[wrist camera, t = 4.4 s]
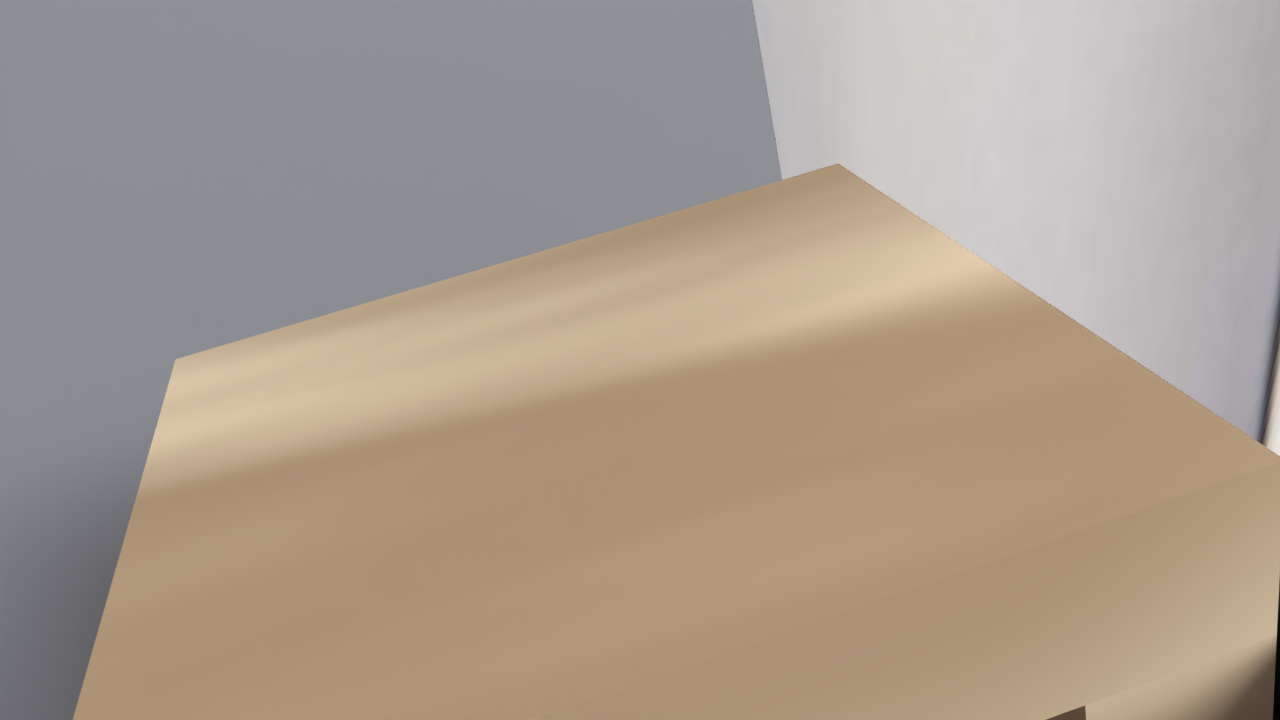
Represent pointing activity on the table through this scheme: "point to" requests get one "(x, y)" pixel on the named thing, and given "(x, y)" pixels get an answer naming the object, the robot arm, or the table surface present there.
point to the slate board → (294, 212)
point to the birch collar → (696, 498)
